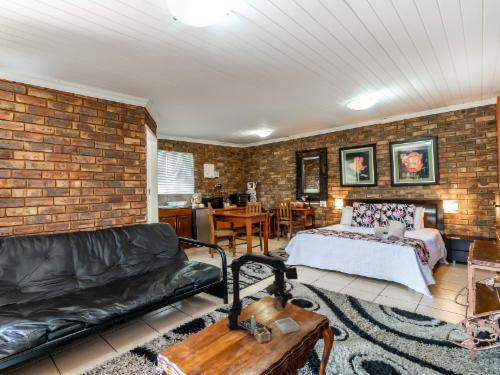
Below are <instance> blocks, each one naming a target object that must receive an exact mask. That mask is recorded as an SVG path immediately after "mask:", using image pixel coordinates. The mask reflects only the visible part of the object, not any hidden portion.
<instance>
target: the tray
mask: <svg viewBox="0 0 500 375" xmlns="http://www.w3.org/2000/svg"><path fill="white" fill-rule="evenodd" d="M274 326H275V327H276V328H277V329H278V330H279V332H281V333H282V334H283V335H286V334H291V333H293V332H297V331H300V325H299V324H298V323H297V322H296V321H295V320H294V319H292V318H291V317H286V318H281V319H278V320H275V321H274Z"/></svg>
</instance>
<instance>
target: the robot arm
mask: <svg viewBox="0 0 500 375" xmlns="http://www.w3.org/2000/svg"><path fill="white" fill-rule="evenodd" d="M247 262H248V263H249V262H252V263H257V264H262V265H266V266H270V267H271V268H272V269H271V270H270V271H271V274H274V280H273V281H272V284H268V286H267V287H265V290H266V294H267V295H269V296H273V295H274V297H278V296H280V298H279V299H281V303H282V308H285V306H286V303H287V301H290V300H292V299H293V298H294V296H293V294H292V292H290V291H287V288H286V287H285V285H286V284H287V281H288V280H290V281H292V280H298V275H299V274H298V270H297V267H296V266H293V267H287V265H286V264H285V262H284V259H283V257H280V256H264V255H260V254H255V253H254V254H253V253H250V252H246V253H244V254H243V255H241V256H239V257H237V258H234V259H232V260H231V263H230V270H231V274H232V294H233V295H232V296H233V298H232V305H231V307H230V308H229V310H228V313H227V318H228V324H226V327H227V328H228V330H229V331H233V330H234V331H235V330H238V329H241V326H240V325H239V316H241V314H242V312H243V309H244V306H243V301H244V300H243V299H241V297H240V296H241V294H240V292H241V291H240V272H241V267H243V266H245V265H246V264H247ZM285 279H287V281H286V280H285ZM239 326H240V327H239Z"/></svg>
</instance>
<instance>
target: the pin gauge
mask: <svg viewBox="0 0 500 375" xmlns="http://www.w3.org/2000/svg"><path fill="white" fill-rule="evenodd" d="M255 329H257V315H256V314H254V313H252V314H251V315H250V334H251V335H254V330H255Z"/></svg>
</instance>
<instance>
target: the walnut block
mask: <svg viewBox="0 0 500 375" xmlns="http://www.w3.org/2000/svg"><path fill="white" fill-rule="evenodd" d="M279 298H280V296H278V297H275V296H274V297H273V299H272V300H273V301H272V302H273V309H275V310H276V311H277V312H278V313H280V312H284V311H287V310H289V308H288V307H289V306H288V304H289V302H288V301H289V300H288V301H287V303H286V306H285V308H282V303H281V299H279Z"/></svg>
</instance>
